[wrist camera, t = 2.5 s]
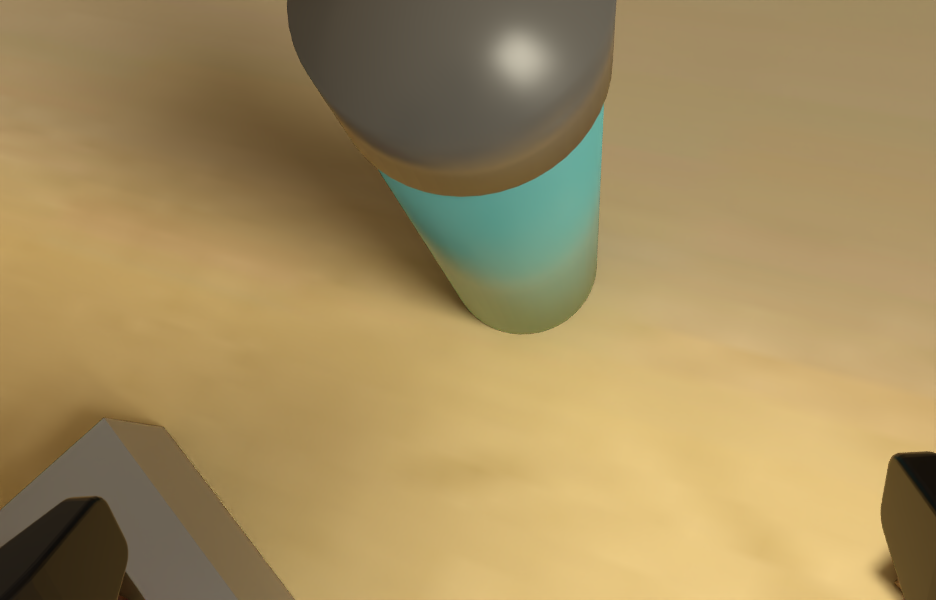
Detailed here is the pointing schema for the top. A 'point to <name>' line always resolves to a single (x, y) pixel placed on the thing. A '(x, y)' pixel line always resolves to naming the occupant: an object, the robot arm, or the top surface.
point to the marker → (478, 134)
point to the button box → (153, 515)
